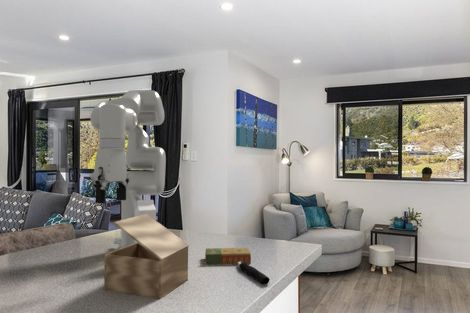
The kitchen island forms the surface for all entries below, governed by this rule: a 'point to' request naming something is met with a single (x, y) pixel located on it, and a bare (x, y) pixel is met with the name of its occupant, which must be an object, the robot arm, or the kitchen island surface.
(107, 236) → the kitchen island surface
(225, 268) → the kitchen island surface
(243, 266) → the black handled hook tool
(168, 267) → the wooden box
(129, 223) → the lid flap
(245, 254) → the carton
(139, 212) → the milk
